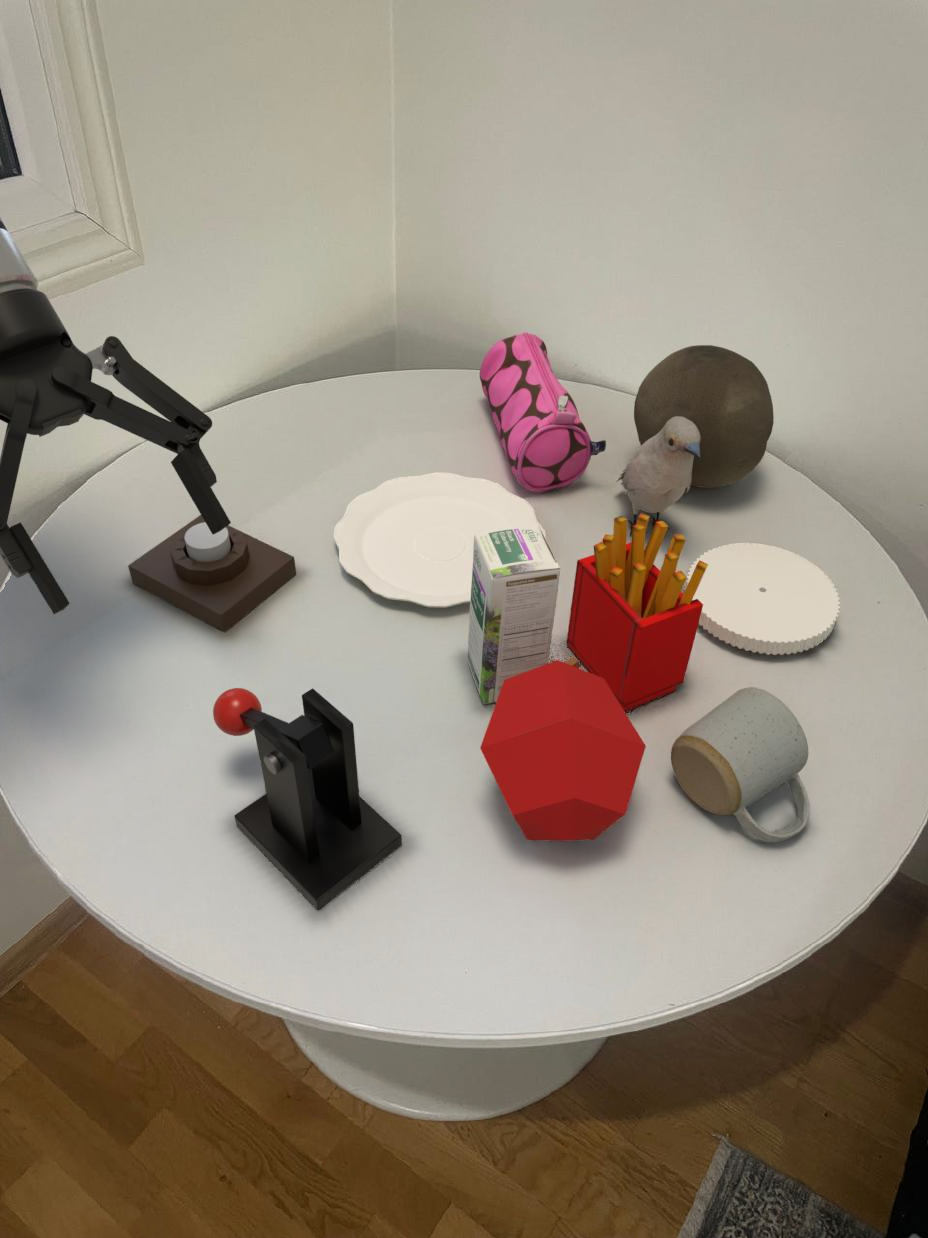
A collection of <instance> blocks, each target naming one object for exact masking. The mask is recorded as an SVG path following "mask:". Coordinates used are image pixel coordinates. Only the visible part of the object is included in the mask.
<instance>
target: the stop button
mask: <svg viewBox="0 0 928 1238" xmlns="http://www.w3.org/2000/svg"><path fill="white" fill-rule="evenodd" d="M184 538H185V543H186V548H187V553H188V555H189V557H190V558H191V559H192V560H194V561H196V562H213V561H217V560H220V559H223V558H224V557H225V556H227V555H228V554H229V552H230V550H231V545H230V539H229V534H228V530H227V528H226V527H225V528H224V529H223V530H221V531H220V532H218V533H216V534H214V535H212V533H211V531H210V529H209V528H208V526H207V524H206V522H204V523H200V524H197V525H195V526H193V527H191V528H190V529H189V530H188V531H187V532H186V534H185V537H184Z"/></svg>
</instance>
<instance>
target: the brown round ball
mask: <svg viewBox="0 0 928 1238" xmlns="http://www.w3.org/2000/svg"><path fill="white" fill-rule="evenodd" d="M675 416H680V417H685V418H686V419H688V420H690V421H692V422H693V423H694V424H695V425H696V427H697V428H698V430H699V433H700V437H701V438H700V444H699V447H700V459H699V458H697V457H696V456H694V459H693V466H692V475H691V476H692V478H691V485H690V486H692V487H696V488H704V489H705V488H707V489H715V488H720V487H725V486H729V485H733V484H735V483H738V482H739V481H742V480H743V479H745V478H746V477H747V476H748V475H750V474H751V473H752V472H753V471H754V470H755V469H756V468H757V466H759V464H760V463H761V461H762V460H763V458H764V456H765V454H766V450H767V445H768V442H769V439H770V437H771V435H772V432H773V427H774V418H775V417H774V404H773V399H772V396H771V391H770V388H769V384H768V381H767V380H766V378H765V376H764V375H763V373H762V372H761V370H760V369H759V368H758V366H757V365H756V364H755V363H754V362H753V361H751V360H750V359H748V358H746V357H745V356H743V355H742V354H739V353H737V352H736V351H733V350H731V349H728V348H725V347H721V346H717V345H711V344H700V345H699V344H698V345H697V344H696V345H690V346H686V347H683V348H680V349H678V350H676V351H674V352H672V353H670V354H669V355H667V356H666V357H665V358H664V359H662V360H660V362H659V363H657V364H656V365H654V367H653V368H652V369H651V370H650V371H649V372H648V373H647V375H646V376H645V377H644V378H643V380H642V381H641V383H640V385H639V387H638V391H637V394H636V396H635V399H634V406H633V420H634V425H635V428H636V433H637V437H638V441H639V444H640V447H641V446H642V445H643V444H644V443H645V442H646V441H647V440H648V439H650V438H652V437H653V436H655V435H657V434H658V433H659V432H660V431H661V430H662V428H663V427H664V426H665V424H666V423H667V422H668V420H670V419H671V418H673V417H675Z"/></svg>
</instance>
